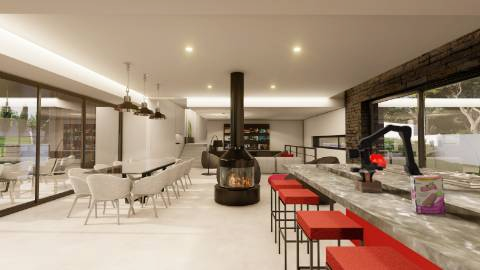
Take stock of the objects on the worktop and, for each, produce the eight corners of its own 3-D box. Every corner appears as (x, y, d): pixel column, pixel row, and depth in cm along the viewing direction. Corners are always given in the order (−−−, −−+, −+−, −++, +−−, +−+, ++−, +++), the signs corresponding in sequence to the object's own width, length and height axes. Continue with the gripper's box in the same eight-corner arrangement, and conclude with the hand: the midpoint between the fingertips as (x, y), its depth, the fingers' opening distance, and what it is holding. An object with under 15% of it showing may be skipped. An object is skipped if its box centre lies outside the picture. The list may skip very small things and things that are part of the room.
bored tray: (355, 188, 171) (354, 179, 171) (373, 187, 170) (372, 178, 170) (362, 192, 159) (361, 182, 159) (382, 191, 158) (381, 181, 158)
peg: (365, 184, 167) (364, 172, 167) (371, 185, 165) (370, 172, 165) (364, 185, 165) (363, 173, 165) (369, 186, 163) (368, 173, 163)
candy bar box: (416, 214, 112) (413, 177, 113) (412, 211, 117) (409, 175, 117) (446, 214, 109) (442, 176, 110) (440, 211, 114) (437, 174, 114)
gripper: (355, 160, 158) (357, 185, 158) (386, 158, 156) (388, 183, 156) (348, 159, 169) (351, 182, 169) (377, 156, 168) (380, 180, 167)
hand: (367, 182), depth 165 cm, fingers closed on peg, 3 cm apart
